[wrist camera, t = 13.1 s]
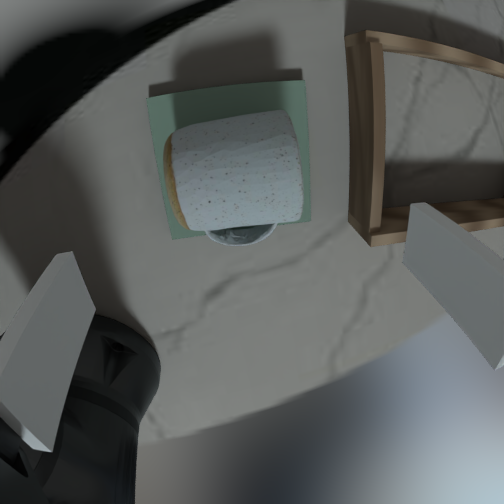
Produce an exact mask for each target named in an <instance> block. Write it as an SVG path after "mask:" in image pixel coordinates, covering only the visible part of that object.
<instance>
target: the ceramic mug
mask: <svg viewBox="0 0 504 504" xmlns="http://www.w3.org/2000/svg"><path fill="white" fill-rule="evenodd" d="M163 167H164V178H165V184H166V189H167V194H168V198H169V202H170V205H171V208H172V211H173V213H174V216H175V218H176V219H177V221H178V223H179V224H180V225H182V226H183V227H184V228H185V229H188V230H194V231H205V233H206V235H207V236H208V237H209V238H210V239H212V240H213V241H215V242H217V243H220V244H223V245H229V246H244V245H250V244H254V243H257V242H259V241H262V240H264V239H265V238H267V237H268V236H269V235H270V234H271V233H272V232H273V231H274V229H275V228H276V226H277V224H278V223H284V222H294V221H297V220H299V219H300V217H301V215H302V212H303V204H304V186H303V173H302V165H301V156H300V149H299V143H298V139H297V135H296V133H295V130H294V126H293V123H292V120H291V119H290V117H289V115H288V114H287V113H286V111H284V110H274V111H267V112H260V113H253V114H246V115H240V116H234V117H229V118H224V119H218V120H213V121H208V122H202V123H197V124H192V125H189V126H187V127H184V128H181V129H178V130H176V131H175V132H173V133H171V134H170V136H169V137H168V138H167V140H166V142H165V145H164V152H163ZM252 225H258V226H255V227H253V228H249V229H236V230H230V229H228V230H224V229H226V228H232V227H240V226H252Z"/></svg>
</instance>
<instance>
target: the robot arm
mask: <svg viewBox="0 0 504 504" xmlns="http://www.w3.org/2000/svg"><path fill="white" fill-rule="evenodd" d="M402 263H403V264H404V265H405V266H406V267H407V268H408V269H409V270H410V271H411V272H412V273H413V275H414V276H415V277H416V278H417V279H418V280H419V281H420V282H421V283H422V284H423V285H424V286H425V288H426V289H427V290H428V291H429V292H430V293H431V294H432V295H433V296H434V298H435V299H436V300H437V301H438V302H439V303H440V304H441V305H442V307H443V308H444V309H445V310H446V311H447V312H448V314H449V315H450V316H451V317H452V318H453V319H454V321H455V322H456V323H457V324H458V325H459V326H460V328H461V329H462V330H463V331H464V333H465V334H466V335H467V336H468V337H469V339H470V340H471V341H472V342H473V344H474V345H475V346H476V347H477V349H478V350H479V351H480V352H481V354H482V355H483V356H484V358H485V359H486V360H487V362H488V363H489V364H490V365H491V367H492V368H493V369H494V371H495V370H497V369H498V368H500V367H502V366H503V365H504V259H503V258H501V257H500V256H499V255H498V254H496V253H495V252H494V251H493V250H491V249H490V248H489V247H487V246H486V245H485V244H484V243H482V242H481V241H480V240H478V239H477V238H476V237H474V236H473V235H472V234H470V233H469V232H468V231H466V230H465V229H463V228H462V227H461V226H459V225H458V224H456V223H455V222H454V221H452V220H451V219H449V218H448V217H446V216H445V215H443V214H442V213H441V212H439V211H438V210H436V209H435V208H433V207H432V206H430V205H429V204H427V203H425V202H422V203H412V204H411V205H410V214H409V222H408V229H407V237H406V243H405V250H404V256H403V262H402ZM95 311H96V308H95V306H94V304H93V301H92V299H91V297H90V294H89V292H88V290H87V287H86V285H85V282H84V280H83V277H82V275H81V272H80V270H79V267H78V265H77V262H76V259H75V257H74V254H73V251H71V252H65V253H60V254H56V255H55V257H54V258H53V260H52V261H51V262H50V264H49V265H48V266H47V268H46V269H45V271H44V272H43V273H42V275H41V276H40V278H39V279H38V281H37V282H36V284H35V285H34V287H33V288H32V290H31V291H30V293H29V294H28V296H27V297H26V299H25V300H24V302H23V303H22V305H21V307H20V308H19V310H18V311H17V313H16V315H15V316H14V318H13V320H12V321H11V323H10V325H9V326H8V328H7V330H6V331H5V332H4V333H3V334H2V335H1V336H0V504H135V479H136V460H137V446H138V433H139V425H140V422H141V420H142V418H143V416H144V414H145V412H146V411H147V409H148V407H149V405H150V403H151V401H152V399H153V397H154V396H155V394H156V392H157V390H158V387H159V381H160V372H161V366H160V361H159V358H158V356H157V354H156V352H155V351H154V349H153V348H152V347H151V345H150V344H149V343H148V342H147V341H146V340H145V339H144V338H143V337H142V336H140V335H139V334H138V333H137V332H135V331H134V330H132V329H130V328H129V327H127V326H125V325H123V324H121V323H119V322H117V321H115V320H112V319H109V318H106V317H102V316H98V315H94V313H95Z"/></svg>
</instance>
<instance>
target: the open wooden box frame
mask: <svg viewBox="0 0 504 504" xmlns="http://www.w3.org/2000/svg"><path fill="white" fill-rule="evenodd" d="M345 48H346V61H347V76H348V95H349V126H350V182H349V214H348V222H349V223H350V224H351V226H352V227H353V228H354V229H355V230H356V231H357V232H358V233H359V234H360V236H361V237H362V238H363V239H364V240H365V241H366V242H367V243H368V245H369V246H370V247H374V246H381V245H388V244H394V243H401V242H406V237H407V229H408V222H409V214H410V206H402V207H392V208H382V201H383V187H384V168H385V132H386V111H385V77H384V59H383V51H386V52H394V53H400V54H407V55H413V56H418V57H424V58H429V59H434V60H438V61H443V62H447V63H451V64H455V65H459V66H463V67H467V68H471V69H474V70H478V71H481V72H485V73H488V74H491V75H494V76H497V77H500V78H503V79H504V64H502V63H499V62H496V61H494V60H491V59H488V58H485V57H482V56H479V55H476V54H473V53H470V52H467V51H464V50H460V49H457V48H453V47H450V46H446V45H442V44H438V43H434V42H430V41H426V40H421V39H416V38H412V37H407V36H401V35H396V34H390V33H383V32H377V31H369V30H364V31H361V32H358V33H354V34H351V35H348V36H345ZM429 205H430V206H432V207H433V208H435V209H436V210H438V211H439V212H441V213H442V214H443V215H445V216H446V217H448V218H449V219H451V220H452V221H454V222H455V223H456V224H458V225H459V226H461V227H462V228H463V229H465V230H466V231H468V232H471V231H477V230H483V229H489V228H496V227H502V226H504V197H503V198H497V199H483V200H470V201H458V202H446V203H434V204H429Z"/></svg>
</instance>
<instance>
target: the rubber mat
mask: <svg viewBox="0 0 504 504" xmlns="http://www.w3.org/2000/svg"><path fill="white" fill-rule="evenodd" d="M146 100H147V107H148V113H149V120H150V126H151V133H152V139H153V145H154V151H155V156H156V162H157V167H158V173H159V178H160V183H161V188H162V193H163V198H164V203H165V208H166V213H167V218H168V222H169V227H170V231H171V236H172V240H173V239H180V238H187V237H194V236H201V235H206V233H205V231H194V230H188V229H185V228H184V227H183V226H182V225H180V224H179V223H178V221H177V219H176V218H175V216H174V213H173V211H172V208H171V205H170V202H169V198H168V194H167V189H166V184H165V178H164V167H163V152H164V145H165V142H166V140H167V138H168V137H169V136H170V134H171V133H173V132H175V131H176V130H178V129H181V128H184V127H187V126H189V125H192V124H197V123H202V122H208V121H213V120H218V119H224V118H229V117H234V116H240V115H246V114H253V113H260V112H267V111H274V110H284V111H286V113H287V114H288V115H289V117H290V119H291V120H292V123H293V126H294V130H295V133H296V135H297V139H298V143H299V149H300V156H301V165H302V173H303V186H304V204H303V212H302V215H301V217H300V219H299V220H297V221H294V222H284V223H278V224H277V225H284V224H292V223H300V222H308V221H311V203H310V163H309V138H308V118H307V101H306V87H305V80H297V81H273V82H258V83H245V84H235V85H226V86H217V87H209V88H202V89H195V90H189V91H182V92H177V93H171V94H165V95H160V96H155V97H150V98H146ZM255 226H258V225H252V226H240V227H232V228H226V229H224V230H228V229H230V230H236V229H249V228H253V227H255Z"/></svg>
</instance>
